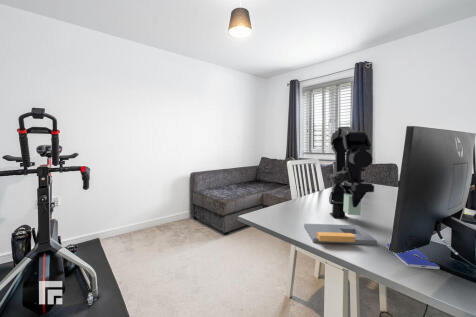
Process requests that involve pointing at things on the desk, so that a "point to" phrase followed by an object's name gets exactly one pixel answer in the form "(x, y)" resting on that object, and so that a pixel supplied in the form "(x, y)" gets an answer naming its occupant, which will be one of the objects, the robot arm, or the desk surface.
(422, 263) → the hard drive
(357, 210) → the pale green block
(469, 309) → the desk surface
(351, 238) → the bar
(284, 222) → the desk surface
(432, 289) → the desk surface
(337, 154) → the robot arm
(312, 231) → the socket plate
